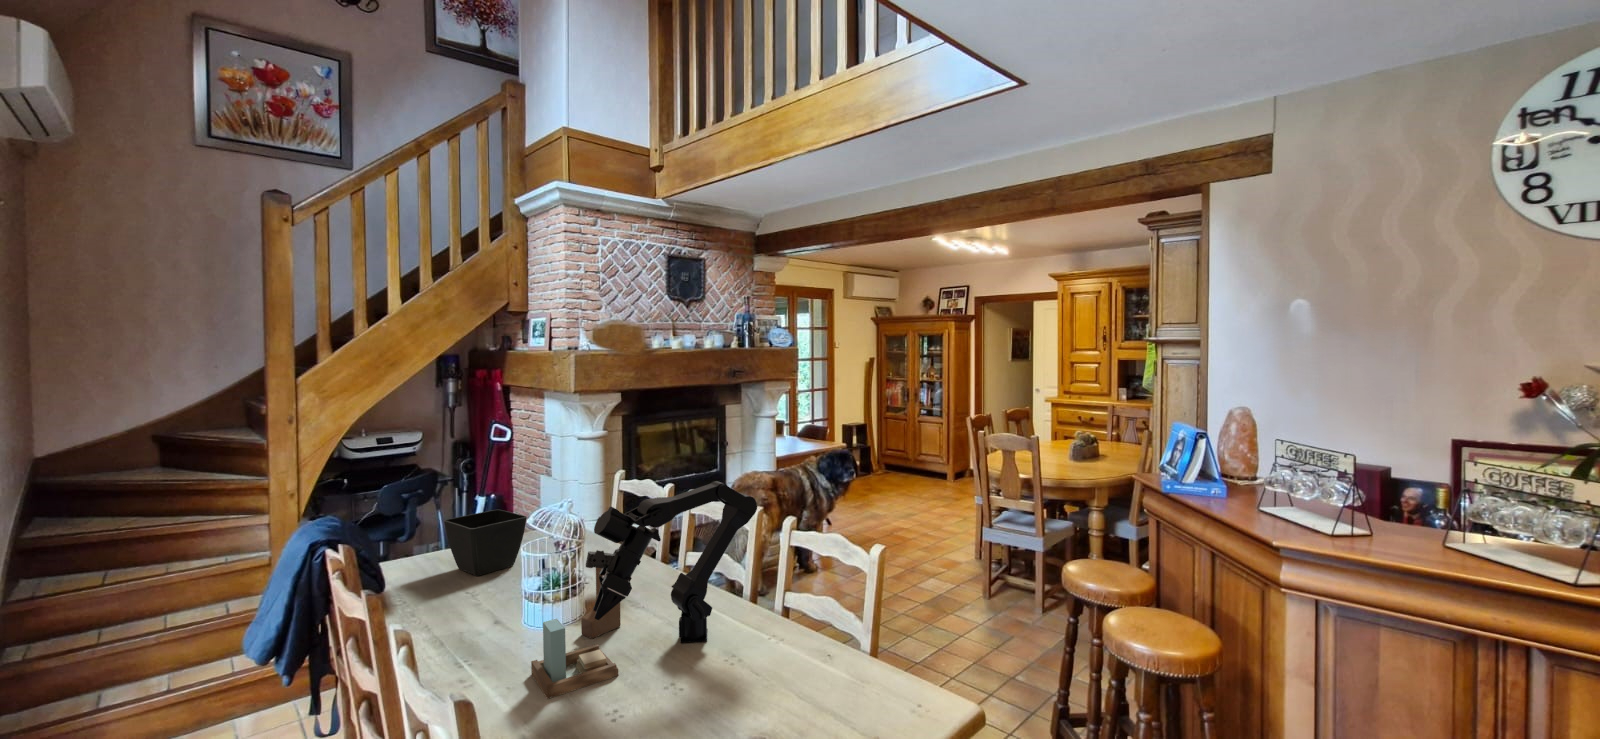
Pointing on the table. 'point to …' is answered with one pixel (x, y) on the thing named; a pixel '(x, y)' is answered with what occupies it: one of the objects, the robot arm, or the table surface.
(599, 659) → the offcut stack
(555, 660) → the tall grey-green pillar
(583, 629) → the wooden block
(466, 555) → the flower pot
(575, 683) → the rack
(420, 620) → the table surface
